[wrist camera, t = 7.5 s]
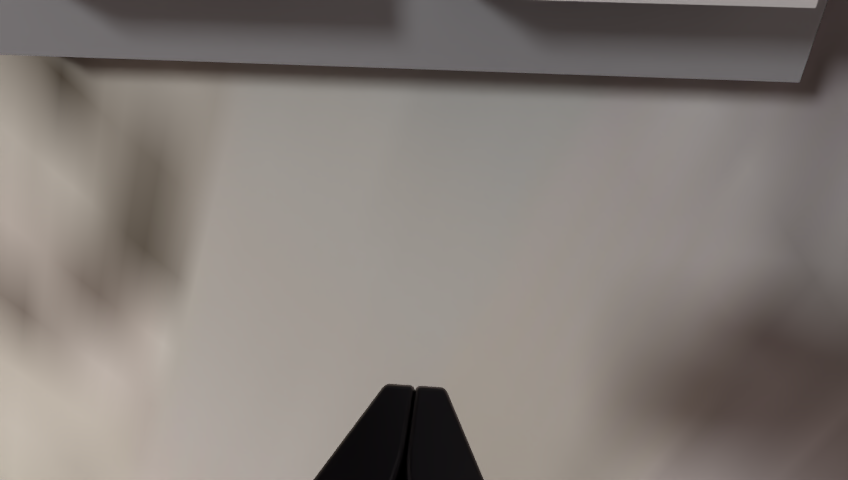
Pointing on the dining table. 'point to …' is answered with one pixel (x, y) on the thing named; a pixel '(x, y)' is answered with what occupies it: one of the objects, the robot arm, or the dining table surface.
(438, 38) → the key panel
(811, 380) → the dining table surface
